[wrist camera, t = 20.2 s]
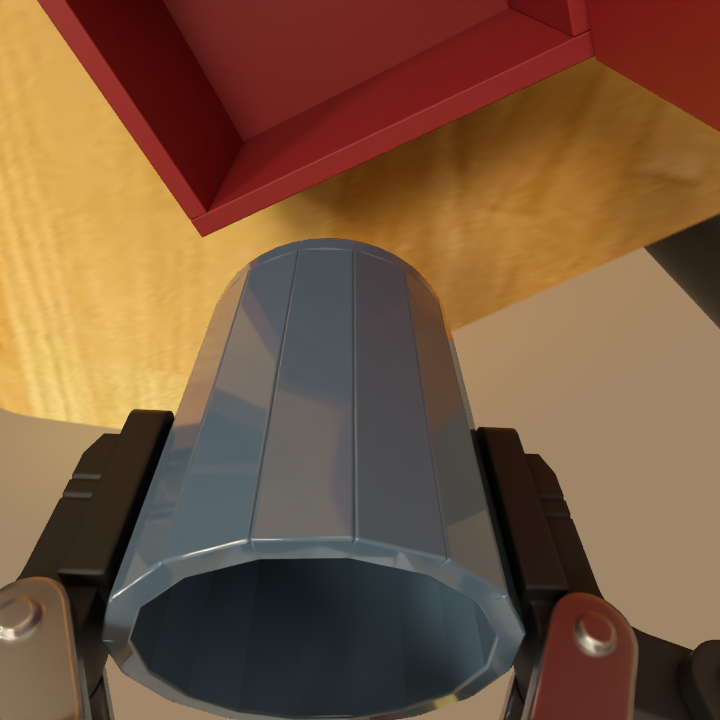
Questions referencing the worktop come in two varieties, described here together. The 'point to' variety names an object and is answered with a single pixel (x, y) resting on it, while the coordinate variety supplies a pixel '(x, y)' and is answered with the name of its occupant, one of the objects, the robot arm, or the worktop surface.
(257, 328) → the cup
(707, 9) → the cooler lid
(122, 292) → the worktop surface
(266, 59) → the cooler
